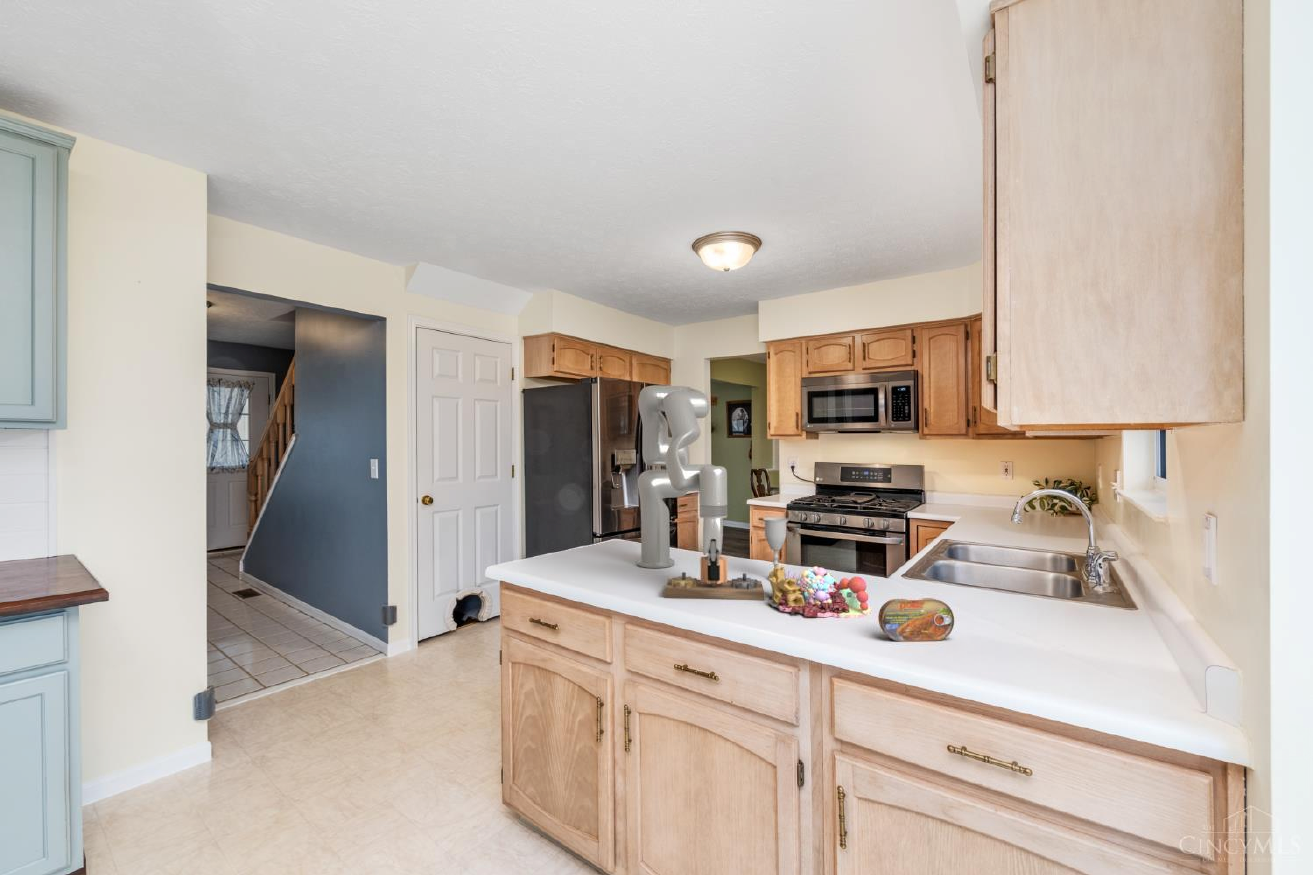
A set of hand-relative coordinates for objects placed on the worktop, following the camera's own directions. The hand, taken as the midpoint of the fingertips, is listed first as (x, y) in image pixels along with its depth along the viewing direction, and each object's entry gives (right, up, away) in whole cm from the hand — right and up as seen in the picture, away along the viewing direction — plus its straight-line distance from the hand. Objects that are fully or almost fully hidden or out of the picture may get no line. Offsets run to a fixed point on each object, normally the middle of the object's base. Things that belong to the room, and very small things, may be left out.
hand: (713, 576), depth 155 cm
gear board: (0, -4, 0) cm, 4 cm away
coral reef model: (+25, -5, -11) cm, 28 cm away
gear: (0, -1, 0) cm, 1 cm away
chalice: (+20, -5, +14) cm, 24 cm away
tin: (+38, -4, -37) cm, 53 cm away
